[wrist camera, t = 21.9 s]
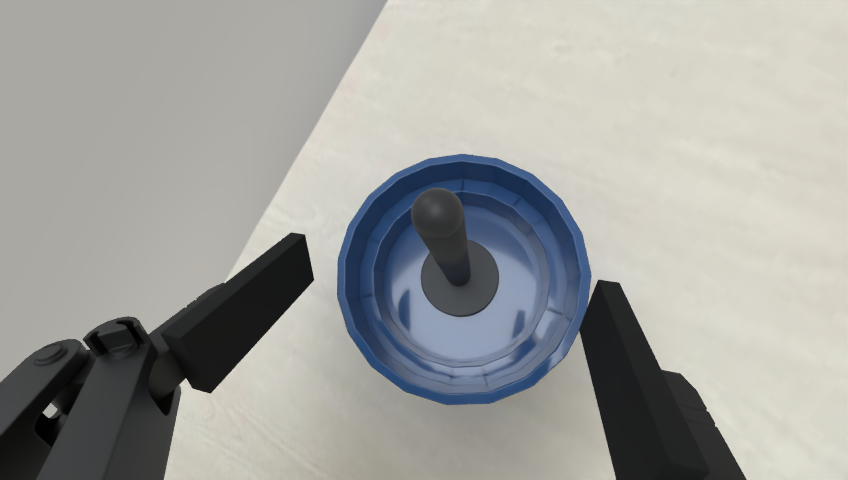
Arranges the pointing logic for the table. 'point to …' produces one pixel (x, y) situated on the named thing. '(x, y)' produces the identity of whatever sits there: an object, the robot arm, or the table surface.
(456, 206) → the dark grey tamper
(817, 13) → the table surface
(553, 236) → the bowl
